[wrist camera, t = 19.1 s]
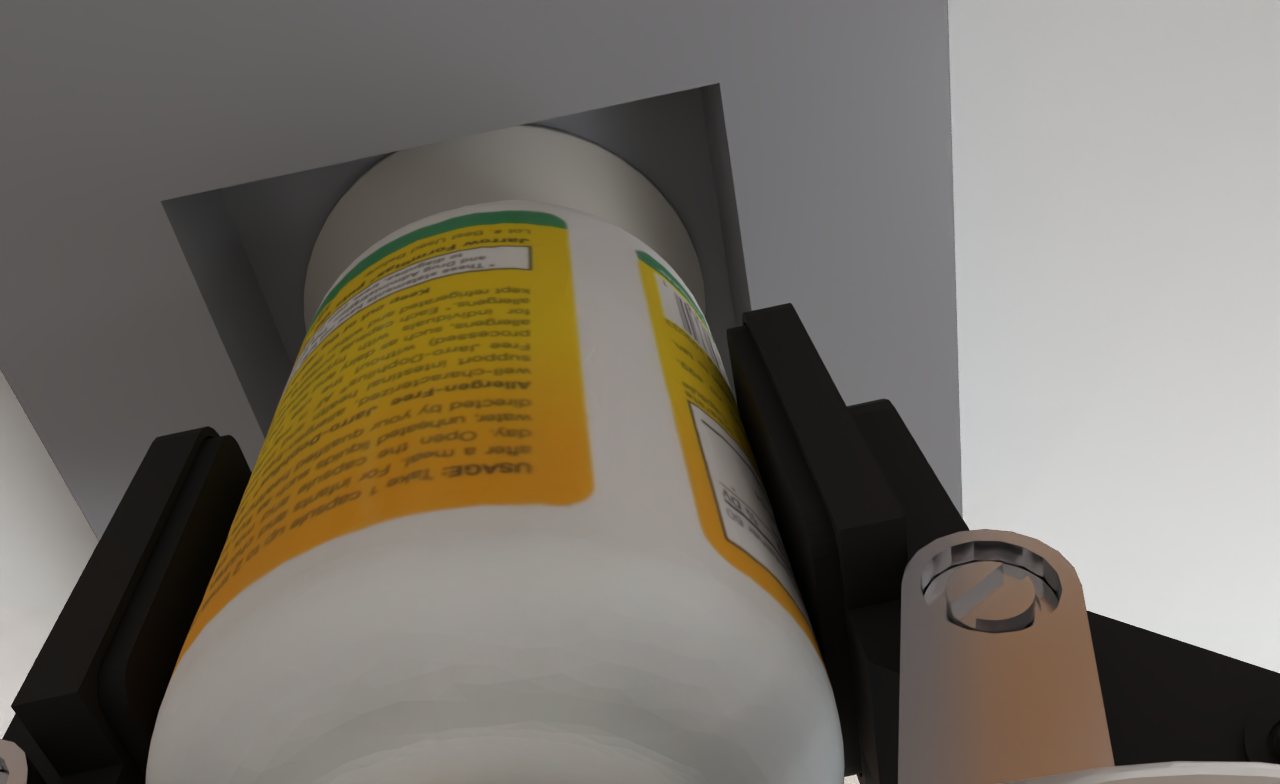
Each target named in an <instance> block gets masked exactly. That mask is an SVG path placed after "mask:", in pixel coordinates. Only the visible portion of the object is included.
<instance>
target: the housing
mask: <svg viewBox="0 0 1280 784" xmlns="http://www.w3.org/2000/svg"><path fill="white" fill-rule="evenodd" d="M503 200H530V201H537V202H543V203H548V204H554V205H559V206H563V207H567V208H572V209H576V210H580V211H583V212H586V213H588V214H591V215H594V216H597V217H599V218H601V219H603V220H606V221H608V222H610V223H612V224H614V225H616V226H618V227H620V228H621V229H623V230H625V231H626V232H628V233H629V234H631V235H633V236H634V237H636V238H637V239H639V240H640V241H642V242H643V243H644V244H646V245H647V246H648V247H650V248H651V249H652V250H654V251H655V252H656V253H657V254H658V255H659V256H660V257H661V258H662V259H664V260H665V261H666V262H667V263H668V264H669V265H670V266H671V267H672V268H673V270H674V271H675V272H676V273H677V275H678V276H679V277H680V278H681V279H682V281H683V282H684V283H685V285H686V286H687V288H688V289H689V290H690V292H691V293H692V295H693V296H694V298H695V300H696V302H697V304H698V305H699V307H700V309H701V311H702V313H703V315H704V317H705V319H706V322H707V324H708V326H709V329H710V332H711V335H712V338H713V340H714V342H715V344H716V347H717V350H718V352H719V355H720V357H721V360H722V363H723V366H724V370H725V373H726V375H727V378H728V381H729V384H730V387H731V390H732V393H733V395H734V398H735V400H736V403H737V399H736V393H735V387H734V380H733V374H732V368H731V361H730V355H729V348H728V342H727V333H726V331H727V329H729V328H734V327H739V326H743V324H742V313H744V312H749V311H753V310H758V309H763V308H768V307H772V306H777V305H782V304H787V303H791V304H792V305H793V306H794V308H795V310H796V312H797V314H798V316H799V318H800V320H801V321H802V323H803V325H804V327H805V329H806V331H807V333H808V335H809V337H810V338H811V340H812V342H813V344H814V346H815V348H816V350H817V352H818V353H819V355H820V357H821V359H822V361H823V363H824V365H825V367H826V368H827V370H828V372H829V374H830V376H831V378H832V380H833V382H834V383H835V385H836V387H837V389H838V391H839V393H840V395H841V397H842V399H843V400H844V402H845V404H846V406H851V405H855V404H860V403H865V402H869V401H874V400H879V399H884V398H885V399H888V400H890V402H891V403H892V404H893V405H894V407H895V408H896V410H897V412H898V413H899V415H900V417H901V418H902V420H903V422H904V423H905V425H906V427H907V428H908V430H909V431H910V433H911V435H912V436H913V438H914V440H915V441H916V443H917V445H918V446H919V448H920V450H921V451H922V453H923V454H924V456H925V458H926V459H927V461H928V463H929V464H930V466H931V468H932V469H933V471H934V473H935V474H936V476H937V478H938V479H939V481H940V482H941V484H942V486H943V487H944V489H945V491H946V492H947V494H948V496H949V497H950V499H951V501H952V502H953V504H954V506H955V507H956V509H957V510H958V512H959V514H960V515H961V517H962V484H961V449H960V415H959V380H958V345H957V311H956V276H955V241H954V207H953V172H952V137H951V103H950V68H949V33H948V0H0V369H1V371H2V373H3V374H4V376H5V378H6V380H7V381H8V383H9V385H10V387H11V388H12V390H13V392H14V394H15V395H16V397H17V399H18V401H19V402H20V404H21V406H22V408H23V409H24V411H25V413H26V415H27V416H28V418H29V420H30V422H31V423H32V425H33V427H34V429H35V430H36V432H37V434H38V436H39V437H40V439H41V441H42V443H43V444H44V446H45V448H46V450H47V451H48V453H49V455H50V457H51V458H52V460H53V462H54V464H55V465H56V467H57V469H58V471H59V472H60V474H61V476H62V478H63V479H64V481H65V483H66V485H67V486H68V488H69V490H70V492H71V493H72V495H73V497H74V499H75V500H76V502H77V504H78V506H79V507H80V509H81V511H82V513H83V514H84V516H85V518H86V520H87V521H88V523H89V525H90V527H91V528H92V530H93V532H94V534H95V535H96V537H97V539H98V541H100V539H101V537H102V535H103V533H104V531H105V530H106V528H107V526H108V524H109V522H110V520H111V518H112V517H113V515H114V513H115V511H116V509H117V507H118V505H119V503H120V502H121V500H122V498H123V496H124V494H125V492H126V490H127V489H128V487H129V485H130V483H131V481H132V479H133V477H134V475H135V474H136V472H137V470H138V468H139V466H140V464H141V462H142V461H143V459H144V457H145V455H146V453H147V451H148V449H149V447H150V446H151V444H152V442H153V441H154V440H155V438H156V437H160V436H164V435H169V434H173V433H178V432H183V431H188V430H192V429H197V428H202V427H206V426H209V427H211V428H213V429H214V430H215V431H216V432H217V433H218V434H219V436H225V435H231V436H233V437H234V438H235V440H236V441H237V443H238V444H239V446H240V448H241V450H242V452H243V455H244V457H245V459H246V461H247V463H248V466H249V468H250V470H251V472H253V469H254V467H255V464H256V461H257V459H258V456H259V454H260V451H261V448H262V446H263V443H264V441H265V438H266V436H267V433H268V431H269V428H270V425H271V423H272V420H273V417H274V415H275V412H276V409H277V407H278V404H279V401H280V399H281V396H282V394H283V391H284V389H285V386H286V384H287V382H288V379H289V377H290V374H291V372H292V369H293V366H294V364H295V361H296V358H297V356H298V353H299V351H300V348H301V345H302V343H303V340H304V338H305V335H306V333H307V330H308V328H309V327H310V325H311V323H312V321H313V319H314V316H315V314H316V312H317V310H318V308H319V306H320V304H321V303H322V301H323V299H324V297H325V295H326V294H327V293H328V291H329V290H330V289H331V287H332V286H333V285H334V283H335V282H336V280H337V279H338V278H339V276H340V275H341V274H342V273H343V272H344V271H345V270H346V269H347V268H348V267H349V266H350V265H351V264H352V262H353V261H354V260H355V259H357V258H358V257H359V256H360V255H361V254H363V253H364V252H365V251H366V250H368V249H369V248H370V247H371V246H372V245H374V244H375V243H377V242H378V241H380V240H381V239H383V238H385V237H386V236H388V235H389V234H391V233H393V232H394V231H396V230H398V229H400V228H402V227H404V226H406V225H408V224H410V223H413V222H415V221H418V220H420V219H423V218H426V217H428V216H431V215H434V214H437V213H440V212H443V211H447V210H452V209H456V208H460V207H463V206H466V205H476V204H481V203H488V202H496V201H503ZM737 407H738V406H737Z"/></svg>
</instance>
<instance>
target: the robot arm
mask: <svg viewBox="0 0 1280 784" xmlns="http://www.w3.org/2000/svg"><path fill="white" fill-rule="evenodd" d="M742 324H743V326H739V327H734V328H729V329H727V331H726V333H727V342H728V348H729V355H730V361H731V368H732V374H733V380H734V387H735V393H736V399H737V406H738V410H739V413H740V416H741V419H742V422H743V426H744V429H745V431H746V434H747V437H748V440H749V442H750V445H751V448H752V451H753V454H754V457H755V460H756V463H757V466H758V469H759V471H760V474H761V477H762V481H763V483H764V486H765V489H766V491H767V495H768V498H769V501H770V504H771V506H772V510H773V513H774V517H775V520H776V523H777V527H778V529H779V532H780V535H781V538H782V540H783V543H784V547H785V550H786V553H787V555H788V558H789V561H790V563H791V567H792V570H793V573H794V576H795V579H796V582H797V584H798V587H799V590H800V592H801V595H802V599H803V601H804V604H805V607H806V609H807V612H808V615H809V618H810V621H811V624H812V627H813V630H814V634H815V637H816V640H817V643H818V646H819V649H820V652H821V655H822V658H823V661H824V663H825V666H826V669H827V673H828V676H829V679H830V682H831V685H832V689H833V693H834V698H835V702H836V707H837V711H838V716H839V720H840V726H841V732H842V739H843V749H844V766H845V767H844V777H846V776H851V775H855V774H857V777H858V780H859V782H860V784H1280V673H1277V672H1274V671H1271V670H1268V669H1264V668H1261V667H1258V666H1255V665H1252V664H1249V663H1246V662H1243V661H1240V660H1237V659H1234V658H1231V657H1228V656H1225V655H1222V654H1218V653H1215V652H1212V651H1209V650H1206V649H1203V648H1200V647H1197V646H1194V645H1191V644H1188V643H1185V642H1182V641H1179V640H1176V639H1172V638H1169V637H1166V636H1163V635H1160V634H1157V633H1154V632H1151V631H1148V630H1145V629H1142V628H1139V627H1136V626H1133V625H1129V624H1126V623H1123V622H1120V621H1117V620H1114V619H1111V618H1108V617H1105V616H1102V615H1099V614H1096V613H1093V612H1090V611H1087V610H1086V606H1085V600H1084V595H1083V589H1082V585H1081V583H1080V580H1079V578H1078V576H1077V573H1076V571H1075V569H1074V567H1073V566H1072V565H1071V564H1070V563H1069V562H1068V561H1067V560H1066V559H1065V558H1064V557H1063V556H1062V555H1061V554H1060V553H1059V552H1058V551H1057V550H1055V549H1053V548H1051V547H1050V546H1048V545H1046V544H1044V543H1043V542H1041V541H1039V540H1037V539H1034V538H1031V537H1028V536H1025V535H1021V534H1018V533H1015V532H1010V531H1000V530H989V529H981V530H971V531H970V530H969V529H968V527H967V525H966V524H965V522H964V520H963V519H962V517H961V515H960V514H959V512H958V510H957V509H956V507H955V506H954V504H953V502H952V501H951V499H950V497H949V496H948V494H947V492H946V491H945V489H944V487H943V486H942V484H941V482H940V481H939V479H938V478H937V476H936V474H935V473H934V471H933V469H932V468H931V466H930V464H929V463H928V461H927V459H926V458H925V456H924V454H923V453H922V451H921V450H920V448H919V446H918V445H917V443H916V441H915V440H914V438H913V436H912V435H911V433H910V431H909V430H908V428H907V427H906V425H905V423H904V422H903V420H902V418H901V417H900V415H899V413H898V412H897V410H896V408H895V407H894V405H893V404H892V403H891V402H890V400H888V399H885V398H884V399H879V400H874V401H869V402H865V403H860V404H855V405H851V406H846V404H845V402H844V400H843V399H842V397H841V395H840V393H839V391H838V389H837V387H836V385H835V383H834V382H833V380H832V378H831V376H830V374H829V372H828V370H827V368H826V367H825V365H824V363H823V361H822V359H821V357H820V355H819V353H818V352H817V350H816V348H815V346H814V344H813V342H812V340H811V338H810V337H809V335H808V333H807V331H806V329H805V327H804V325H803V323H802V321H801V320H800V318H799V316H798V314H797V312H796V310H795V308H794V306H793V305H792V304H791V303H787V304H782V305H777V306H772V307H768V308H763V309H758V310H753V311H749V312H744V313H742ZM251 475H252V472H251V470H250V468H249V466H248V463H247V461H246V459H245V457H244V455H243V452H242V450H241V448H240V446H239V444H238V443H237V441H236V440H235V438H234V437H233V436H231V435H225V436H219V434H218V433H217V432H216V431H215V430H214V429H213V428H211V427H209V426H206V427H202V428H197V429H192V430H188V431H183V432H178V433H173V434H169V435H164V436H160V437H156V438H155V440H154V441H153V442H152V444H151V446H150V447H149V449H148V451H147V453H146V455H145V457H144V459H143V461H142V462H141V464H140V466H139V468H138V470H137V472H136V474H135V475H134V477H133V479H132V481H131V483H130V485H129V487H128V489H127V490H126V492H125V494H124V496H123V498H122V500H121V502H120V503H119V505H118V507H117V509H116V511H115V513H114V515H113V517H112V518H111V520H110V522H109V524H108V526H107V528H106V530H105V531H104V533H103V535H102V537H101V539H100V541H99V543H98V545H97V546H96V548H95V550H94V552H93V554H92V556H91V558H90V559H89V561H88V563H87V565H86V567H85V569H84V571H83V573H82V574H81V576H80V578H79V580H78V582H77V584H76V586H75V587H74V589H73V591H72V593H71V595H70V597H69V599H68V601H67V602H66V604H65V606H64V608H63V610H62V612H61V614H60V615H59V617H58V619H57V621H56V623H55V625H54V627H53V629H52V630H51V632H50V634H49V636H48V638H47V640H46V642H45V643H44V645H43V647H42V649H41V651H40V653H39V655H38V657H37V658H36V660H35V662H34V664H33V666H32V668H31V670H30V671H29V673H28V675H27V677H26V679H25V681H24V683H23V685H22V686H21V688H20V690H19V692H18V694H17V696H16V698H15V699H14V701H13V703H12V705H11V707H12V709H13V710H14V711H15V713H16V714H15V716H14V718H13V720H12V722H11V723H10V725H9V727H8V729H7V731H6V733H5V735H4V737H3V739H0V784H146V768H147V761H148V755H149V749H150V743H151V739H152V735H153V731H154V727H155V724H156V720H157V716H158V712H159V709H160V707H161V704H162V701H163V698H164V696H165V693H166V690H167V687H168V685H169V682H170V679H171V677H172V674H173V671H174V668H175V666H176V663H177V660H178V657H179V655H180V652H181V650H182V648H183V645H184V643H185V640H186V638H187V635H188V633H189V630H190V628H191V625H192V623H193V621H194V618H195V616H196V614H197V612H198V609H199V607H200V605H201V603H202V600H203V597H204V595H205V592H206V589H207V587H208V584H209V582H210V580H211V577H212V575H213V573H214V570H215V568H216V565H217V563H218V560H219V558H220V555H221V553H222V550H223V548H224V545H225V543H226V540H227V537H228V534H229V531H230V528H231V525H232V522H233V520H234V518H235V515H236V513H237V510H238V508H239V506H240V503H241V500H242V497H243V494H244V492H245V490H246V487H247V485H248V482H249V480H250V477H251Z"/></svg>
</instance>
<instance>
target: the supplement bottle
mask: <svg viewBox="0 0 1280 784" xmlns="http://www.w3.org/2000/svg"><path fill="white" fill-rule="evenodd" d="M844 767H845V766H844V749H843V739H842V732H841V726H840V720H839V716H838V711H837V707H836V702H835V698H834V693H833V689H832V685H831V682H830V679H829V676H828V673H827V669H826V666H825V663H824V661H823V658H822V655H821V652H820V649H819V646H818V643H817V640H816V637H815V634H814V630H813V627H812V624H811V621H810V618H809V615H808V612H807V609H806V607H805V604H804V601H803V599H802V595H801V592H800V590H799V587H798V584H797V582H796V579H795V576H794V573H793V570H792V567H791V563H790V561H789V558H788V555H787V553H786V550H785V547H784V543H783V540H782V538H781V535H780V532H779V529H778V527H777V523H776V520H775V517H774V513H773V510H772V506H771V504H770V501H769V498H768V495H767V491H766V489H765V486H764V483H763V481H762V477H761V474H760V471H759V469H758V466H757V463H756V460H755V457H754V454H753V451H752V448H751V445H750V442H749V440H748V437H747V434H746V431H745V429H744V426H743V422H742V419H741V416H740V413H739V410H738V407H737V403H736V400H735V398H734V395H733V393H732V390H731V387H730V384H729V381H728V378H727V375H726V373H725V370H724V366H723V363H722V360H721V357H720V355H719V352H718V350H717V347H716V344H715V342H714V340H713V338H712V335H711V332H710V329H709V326H708V324H707V322H706V319H705V317H704V315H703V313H702V311H701V309H700V307H699V305H698V304H697V302H696V300H695V298H694V296H693V295H692V293H691V292H690V290H689V289H688V288H687V286H686V285H685V283H684V282H683V281H682V279H681V278H680V277H679V276H678V275H677V273H676V272H675V271H674V270H673V268H672V267H671V266H670V265H669V264H668V263H667V262H666V261H665V260H664V259H662V258H661V257H660V256H659V255H658V254H657V253H656V252H655V251H654V250H652V249H651V248H650V247H648V246H647V245H646V244H644V243H643V242H642V241H640V240H639V239H637V238H636V237H634V236H633V235H631V234H629V233H628V232H626V231H625V230H623V229H621V228H620V227H618V226H616V225H614V224H612V223H610V222H608V221H606V220H603V219H601V218H599V217H597V216H594V215H591V214H588V213H586V212H583V211H580V210H576V209H572V208H567V207H563V206H559V205H554V204H548V203H543V202H537V201H530V200H503V201H496V202H488V203H481V204H476V205H466V206H463V207H460V208H456V209H452V210H447V211H443V212H440V213H437V214H434V215H431V216H428V217H426V218H423V219H420V220H418V221H415V222H413V223H410V224H408V225H406V226H404V227H402V228H400V229H398V230H396V231H394V232H393V233H391V234H389V235H388V236H386V237H385V238H383V239H381V240H380V241H378V242H377V243H375V244H374V245H372V246H371V247H370V248H369V249H368V250H366V251H365V252H364V253H363V254H361V255H360V256H359V257H358V258H357V259H355V260H354V261H353V262H352V264H351V265H350V266H349V267H348V268H347V269H346V270H345V271H344V272H343V273H342V274H341V275H340V276H339V278H338V279H337V280H336V282H335V283H334V285H333V286H332V287H331V289H330V290H329V291H328V293H327V294H326V295H325V297H324V299H323V301H322V303H321V304H320V306H319V308H318V310H317V312H316V314H315V316H314V319H313V321H312V323H311V325H310V327H309V328H308V330H307V333H306V335H305V338H304V340H303V343H302V345H301V348H300V351H299V353H298V356H297V358H296V361H295V364H294V366H293V369H292V372H291V374H290V377H289V379H288V382H287V384H286V386H285V389H284V391H283V394H282V396H281V399H280V401H279V404H278V407H277V409H276V412H275V415H274V417H273V420H272V423H271V425H270V428H269V431H268V433H267V436H266V438H265V441H264V443H263V446H262V448H261V451H260V454H259V456H258V459H257V461H256V464H255V467H254V469H253V472H252V475H251V477H250V480H249V482H248V485H247V487H246V490H245V492H244V494H243V497H242V500H241V503H240V506H239V508H238V510H237V513H236V515H235V518H234V520H233V522H232V525H231V528H230V531H229V534H228V537H227V540H226V543H225V545H224V548H223V550H222V553H221V555H220V558H219V560H218V563H217V565H216V568H215V570H214V573H213V575H212V577H211V580H210V582H209V584H208V587H207V589H206V592H205V595H204V597H203V600H202V603H201V605H200V607H199V609H198V612H197V614H196V616H195V618H194V621H193V623H192V625H191V628H190V630H189V633H188V635H187V638H186V640H185V643H184V645H183V648H182V650H181V652H180V655H179V657H178V660H177V663H176V666H175V668H174V671H173V674H172V677H171V679H170V682H169V685H168V687H167V690H166V693H165V696H164V698H163V701H162V704H161V707H160V709H159V712H158V716H157V720H156V724H155V727H154V731H153V735H152V739H151V743H150V749H149V755H148V761H147V768H146V784H844Z"/></svg>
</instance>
